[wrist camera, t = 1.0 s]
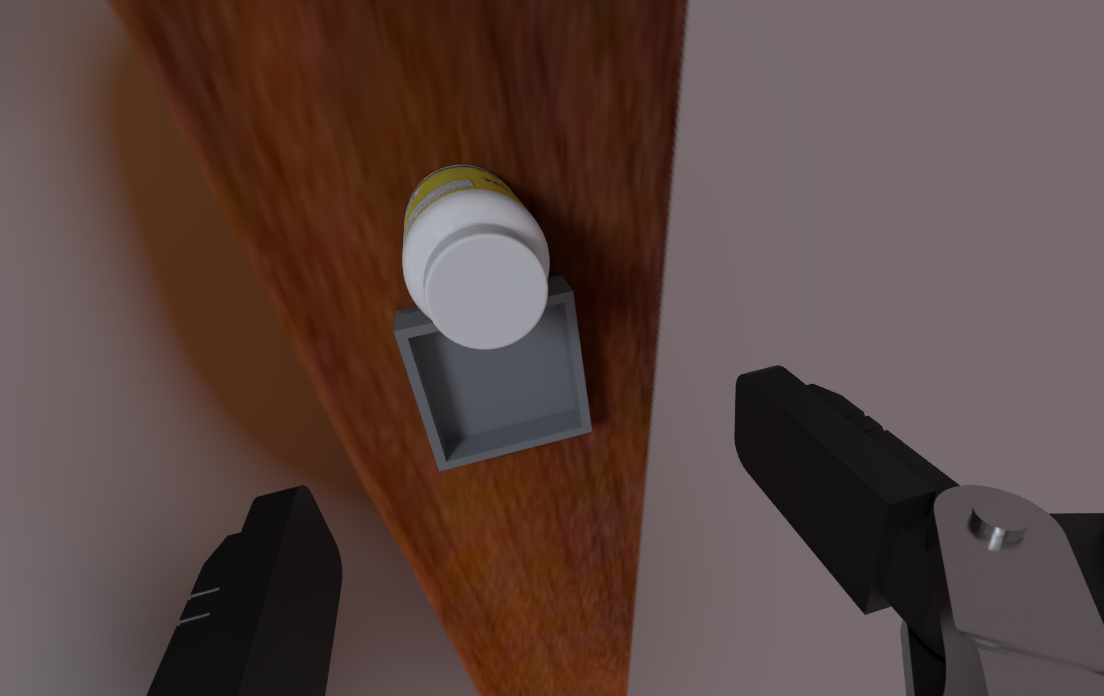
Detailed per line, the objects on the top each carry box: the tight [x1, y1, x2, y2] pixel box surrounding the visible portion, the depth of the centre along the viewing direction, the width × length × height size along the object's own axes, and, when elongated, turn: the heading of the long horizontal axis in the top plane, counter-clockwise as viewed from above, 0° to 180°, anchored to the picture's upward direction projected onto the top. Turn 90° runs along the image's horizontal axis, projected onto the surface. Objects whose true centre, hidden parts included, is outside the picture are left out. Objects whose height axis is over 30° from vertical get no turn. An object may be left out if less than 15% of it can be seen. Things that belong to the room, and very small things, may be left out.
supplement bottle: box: [402, 165, 550, 350], centre depth 21 cm, size 5×5×10 cm
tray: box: [394, 274, 592, 471], centre depth 28 cm, size 9×9×2 cm
